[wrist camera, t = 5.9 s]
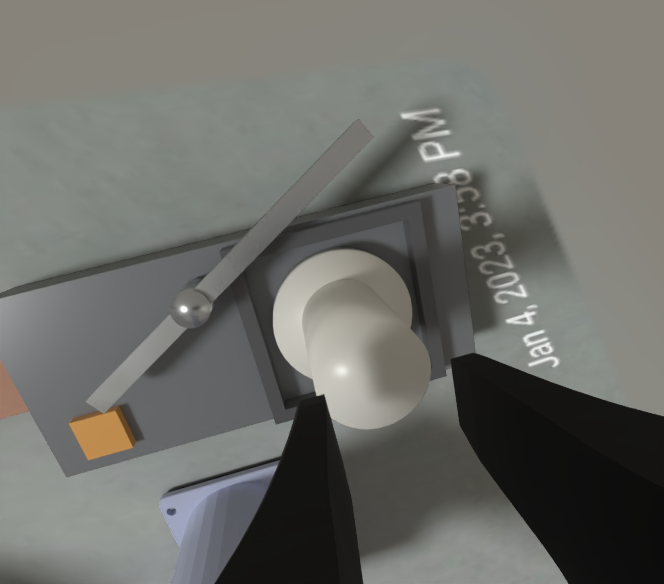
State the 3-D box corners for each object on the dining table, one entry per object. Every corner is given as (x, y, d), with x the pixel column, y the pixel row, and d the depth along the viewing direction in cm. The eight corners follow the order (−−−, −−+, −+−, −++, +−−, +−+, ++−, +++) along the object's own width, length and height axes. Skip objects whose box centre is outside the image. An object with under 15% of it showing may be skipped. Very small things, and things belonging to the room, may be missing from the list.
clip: (368, 147, 15) (381, 143, 13) (127, 393, 17) (108, 421, 15) (343, 119, 15) (353, 110, 13) (99, 374, 16) (75, 400, 14)
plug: (417, 350, 18) (482, 425, 13) (297, 391, 18) (308, 486, 12) (388, 229, 16) (448, 253, 11) (253, 271, 16) (243, 319, 10)
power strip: (454, 340, 21) (485, 368, 18) (91, 441, 20) (57, 490, 17) (432, 183, 19) (464, 184, 16) (11, 288, 17) (-47, 313, 14)
